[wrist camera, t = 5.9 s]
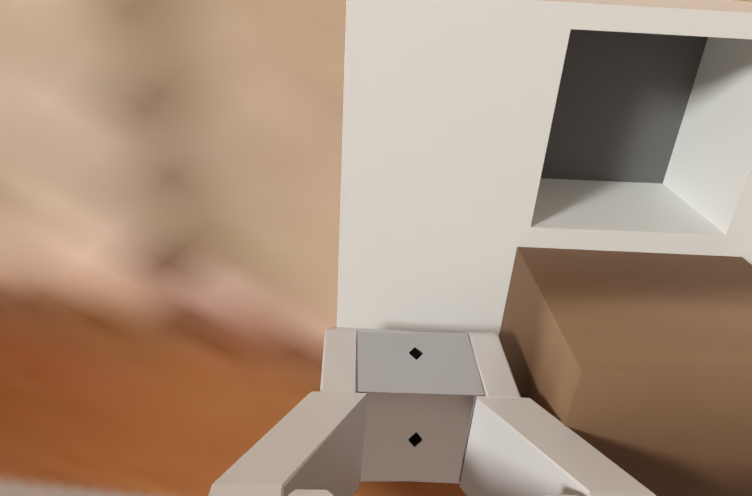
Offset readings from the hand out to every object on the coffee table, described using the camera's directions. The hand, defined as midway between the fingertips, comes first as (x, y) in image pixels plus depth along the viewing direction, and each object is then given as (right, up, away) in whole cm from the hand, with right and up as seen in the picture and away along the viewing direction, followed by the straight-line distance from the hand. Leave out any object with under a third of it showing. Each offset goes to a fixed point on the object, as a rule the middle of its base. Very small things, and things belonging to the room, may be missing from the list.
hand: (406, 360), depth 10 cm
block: (+4, 0, +1) cm, 4 cm away
